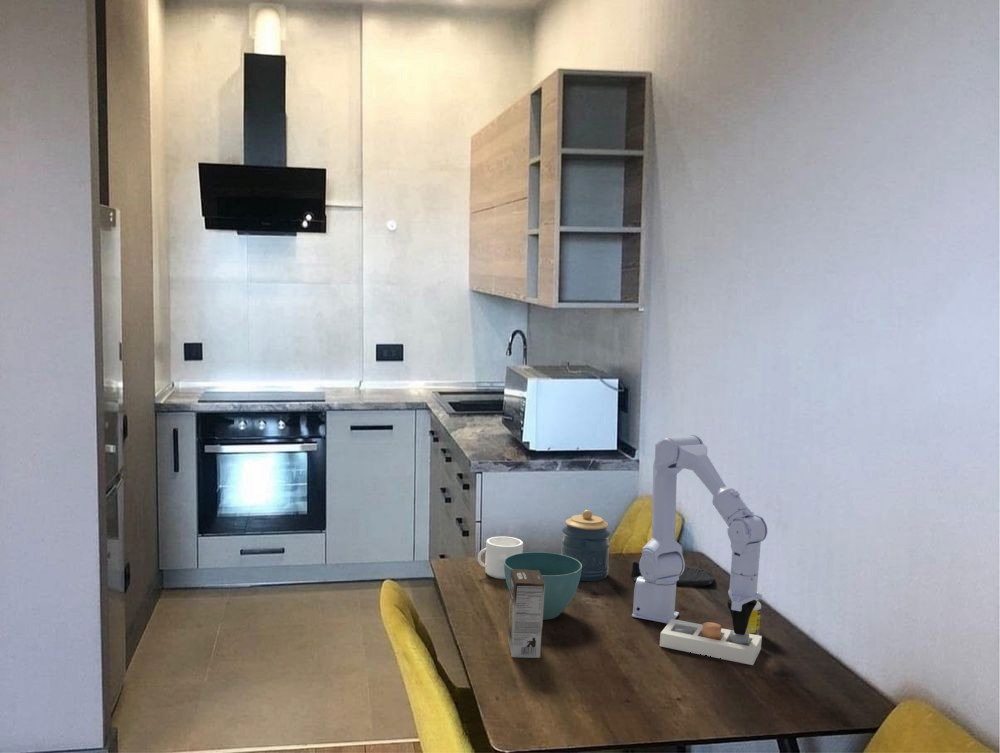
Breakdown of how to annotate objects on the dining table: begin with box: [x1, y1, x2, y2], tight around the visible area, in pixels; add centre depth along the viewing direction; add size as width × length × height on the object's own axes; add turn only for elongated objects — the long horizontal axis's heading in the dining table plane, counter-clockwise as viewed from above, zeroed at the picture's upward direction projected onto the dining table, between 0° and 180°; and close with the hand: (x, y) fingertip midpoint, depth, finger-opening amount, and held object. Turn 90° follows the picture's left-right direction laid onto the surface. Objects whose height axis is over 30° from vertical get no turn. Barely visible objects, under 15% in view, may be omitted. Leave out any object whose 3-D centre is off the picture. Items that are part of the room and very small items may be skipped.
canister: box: [560, 509, 612, 582], centre depth 256 cm, size 13×13×18 cm
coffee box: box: [507, 569, 545, 659], centre depth 203 cm, size 9×6×16 cm
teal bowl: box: [504, 551, 582, 621], centre depth 225 cm, size 18×18×12 cm
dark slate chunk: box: [631, 560, 715, 587], centre depth 258 cm, size 15×22×5 cm
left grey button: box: [675, 626, 693, 635], centre depth 212 cm, size 4×4×3 cm
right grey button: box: [729, 629, 749, 646], centre depth 207 cm, size 4×4×3 cm
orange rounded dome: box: [702, 621, 722, 640], centre depth 210 cm, size 4×4×3 cm
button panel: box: [659, 618, 763, 666], centre depth 210 cm, size 20×10×3 cm, turn 66°
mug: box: [477, 536, 524, 580], centre depth 253 cm, size 12×10×9 cm
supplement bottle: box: [746, 591, 762, 636], centre depth 219 cm, size 5×5×10 cm
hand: (739, 633), depth 207 cm, fingers closed, pressing on right grey button
